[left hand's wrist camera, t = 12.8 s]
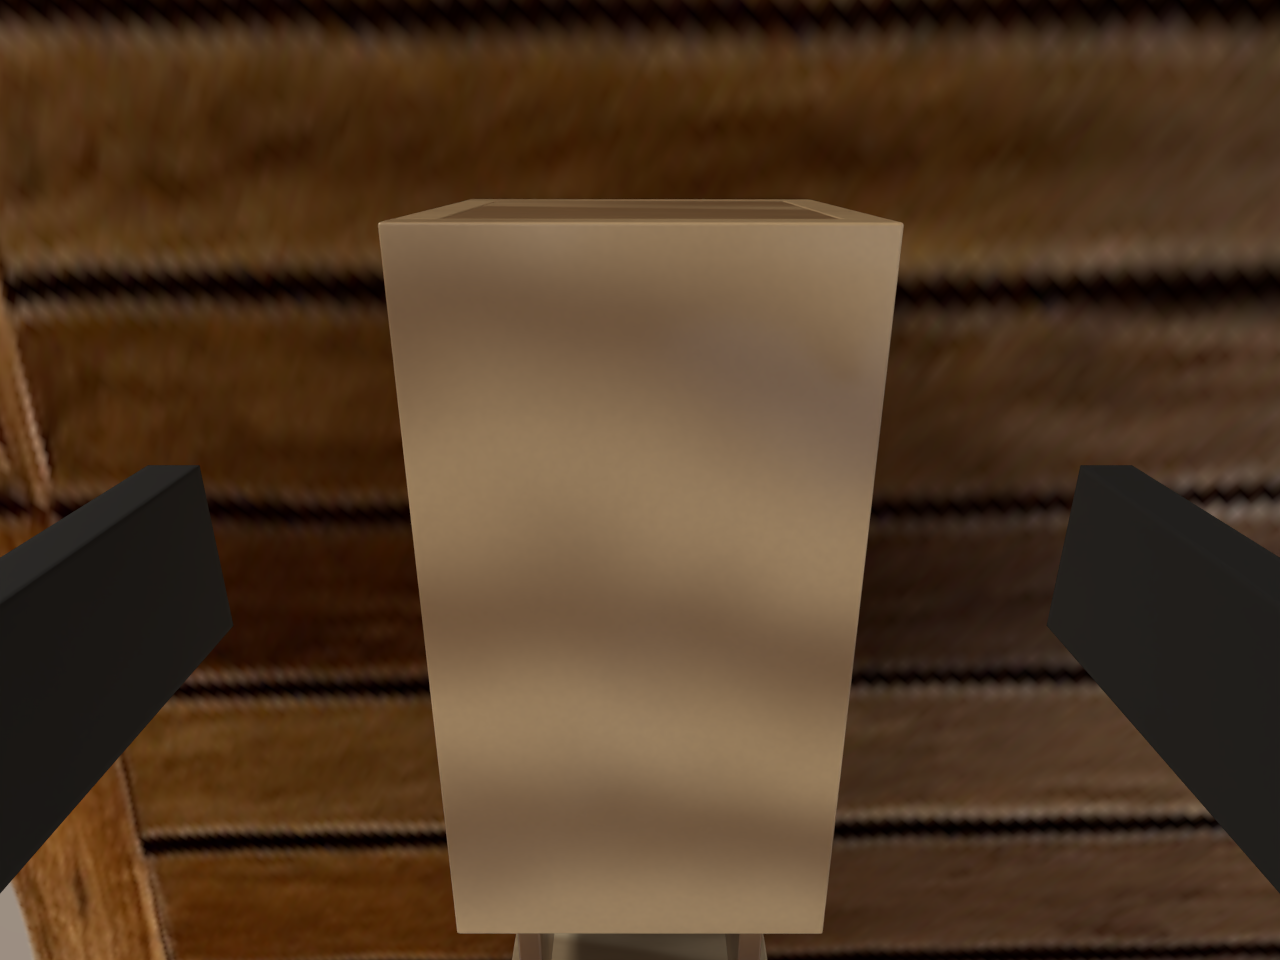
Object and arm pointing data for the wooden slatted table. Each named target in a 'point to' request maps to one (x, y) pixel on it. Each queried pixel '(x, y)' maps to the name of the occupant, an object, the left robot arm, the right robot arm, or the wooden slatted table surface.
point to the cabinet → (640, 545)
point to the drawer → (638, 946)
